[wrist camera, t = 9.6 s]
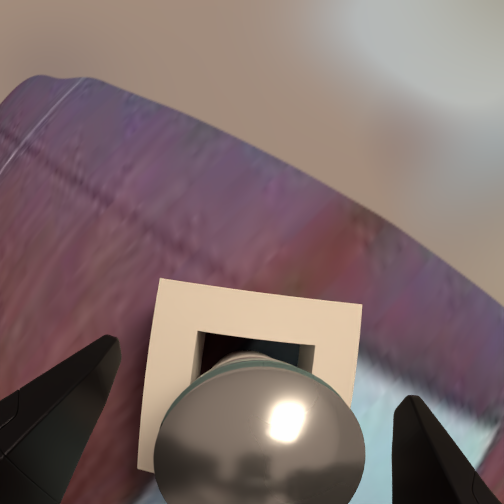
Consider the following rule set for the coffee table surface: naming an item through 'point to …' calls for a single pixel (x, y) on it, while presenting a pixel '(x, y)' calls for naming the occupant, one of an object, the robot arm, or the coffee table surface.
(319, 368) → the docking block
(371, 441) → the coffee table surface
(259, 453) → the cylinder
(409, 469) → the robot arm
